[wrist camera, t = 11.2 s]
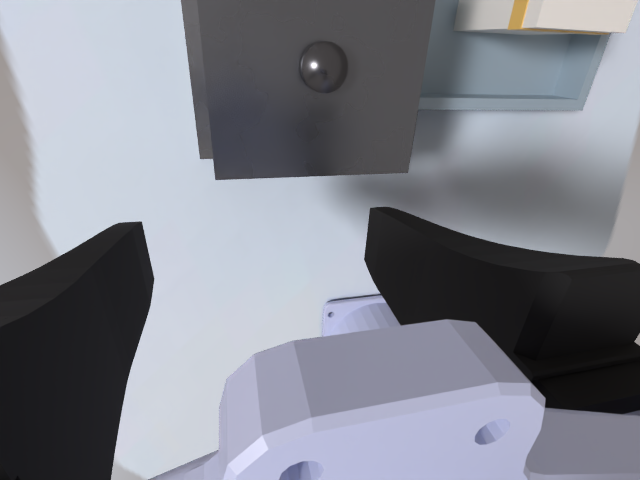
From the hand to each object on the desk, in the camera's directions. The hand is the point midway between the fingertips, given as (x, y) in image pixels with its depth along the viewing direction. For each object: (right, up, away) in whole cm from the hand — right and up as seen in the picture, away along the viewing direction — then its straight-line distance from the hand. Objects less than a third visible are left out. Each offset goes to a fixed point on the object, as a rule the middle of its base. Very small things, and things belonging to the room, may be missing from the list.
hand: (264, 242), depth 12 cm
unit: (0, +9, +7) cm, 12 cm away
